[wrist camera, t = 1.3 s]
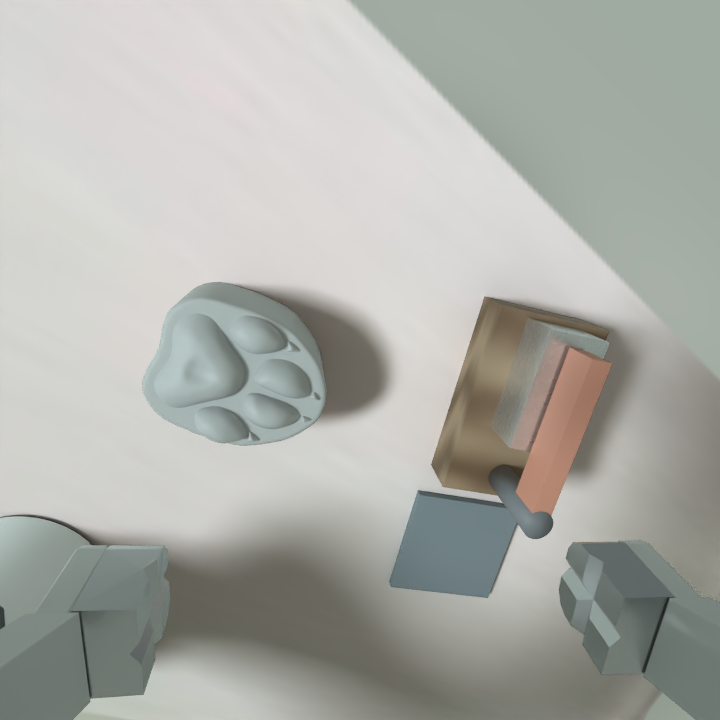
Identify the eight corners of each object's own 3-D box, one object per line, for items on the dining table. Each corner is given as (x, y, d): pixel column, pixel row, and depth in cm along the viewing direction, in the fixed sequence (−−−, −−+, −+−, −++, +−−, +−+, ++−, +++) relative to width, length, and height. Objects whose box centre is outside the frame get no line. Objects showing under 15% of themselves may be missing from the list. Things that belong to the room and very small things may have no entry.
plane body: (523, 480, 50) (541, 502, 47) (431, 464, 48) (442, 486, 45) (583, 320, 46) (609, 330, 42) (484, 296, 44) (502, 305, 40)
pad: (485, 592, 54) (487, 597, 53) (389, 581, 52) (390, 586, 51) (517, 506, 51) (521, 510, 50) (417, 490, 49) (420, 495, 48)
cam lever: (508, 490, 45) (546, 540, 39) (484, 486, 45) (519, 536, 38) (564, 338, 42) (618, 365, 35) (539, 333, 41) (588, 358, 34)
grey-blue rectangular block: (541, 436, 44) (564, 457, 41) (490, 426, 43) (509, 447, 40) (581, 330, 42) (610, 342, 38) (528, 317, 41) (552, 329, 37)
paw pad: (197, 267, 40) (173, 283, 32) (342, 328, 43) (354, 357, 35) (155, 379, 43) (123, 420, 34) (296, 429, 46) (297, 478, 37)
